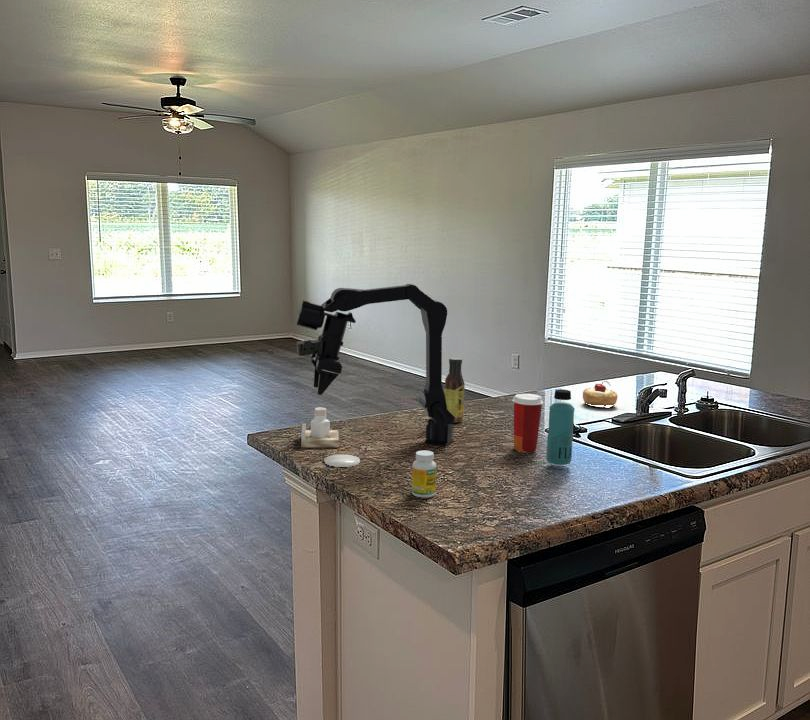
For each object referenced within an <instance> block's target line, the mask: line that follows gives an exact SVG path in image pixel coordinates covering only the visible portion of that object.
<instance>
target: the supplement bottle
mask: <svg viewBox="0 0 810 720" xmlns="http://www.w3.org/2000/svg"><path fill="white" fill-rule="evenodd" d="M434 458H435V455H434V452H433V451H431V450H418V451H416V452H415V460H414V461H413V463H412V469H411V470H412V472H411V473H412V475H411V476H412V477H411V494H412V496H415V497H418V498H423V499H424V498H426V499H427V498H432V497H434V496H435V494H436V490H437V489H436V486H437V485H436V484H437V481H436V480H437V463H436V462H435V461H434Z"/></svg>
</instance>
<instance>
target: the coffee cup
mask: <svg viewBox="0 0 810 720" xmlns="http://www.w3.org/2000/svg"><path fill="white" fill-rule="evenodd" d="M511 401H512V402H513V449H515V450H517V451H516V452H518V451H520V452H519V453H522V452H533V453H535V452H536V451H537V447H538V446H537V445H538V438H539V431H540V423H541V416H542V406H543V404H544V401H543V398H542V396H541V395H538V394H535V393H534V394H531V393H518V394H515V396H513V399H512V400H511ZM515 450H514V451H515ZM534 451H535V452H534Z"/></svg>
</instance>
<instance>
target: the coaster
mask: <svg viewBox="0 0 810 720" xmlns="http://www.w3.org/2000/svg"><path fill="white" fill-rule="evenodd" d="M323 462H325V463H324V464H325V465H326V464H327V465H326V466H328V465H329V467H331V466H334V467H333V468H338V467H347V468H353V467H356V465H357V466H359V465H360V464H361V458H359V457H357V456H356V455H351V454H342V453H341V454H333V455H329V456H326V457H325V458H324V460H323ZM359 463H360V464H359ZM352 466H353V467H352Z"/></svg>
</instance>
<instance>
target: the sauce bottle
mask: <svg viewBox="0 0 810 720" xmlns="http://www.w3.org/2000/svg"><path fill="white" fill-rule="evenodd" d="M462 364H463V358H461V357H450V358H449V359H448V365H449V367H448V368H449V369H448V372H449V373H448V374H447V375H446V377H445V381H444V388H443V391H444V394H445V398H446V404H447V410H448V411H449V412H450V413H451V414H452V415H453V416H454V417H455V418H454V421H453V423H452V424H456V423H457V424H458V423H462V422H463V419H464V418H463V417H464V408H465V407H464V404H465V387H466V386H465V385H466V383H465V380H464V378H463V374H462Z"/></svg>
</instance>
